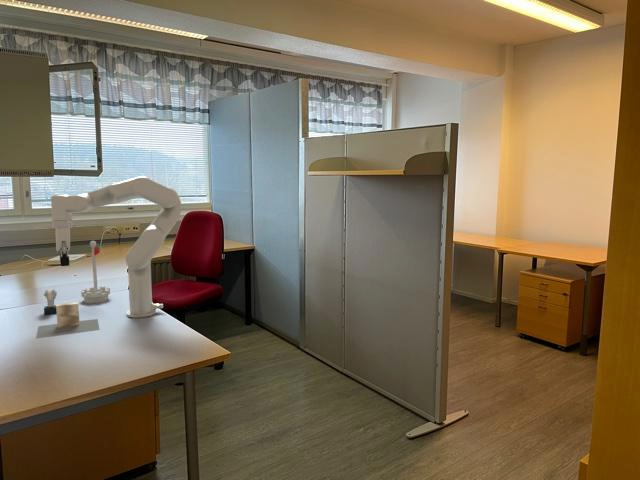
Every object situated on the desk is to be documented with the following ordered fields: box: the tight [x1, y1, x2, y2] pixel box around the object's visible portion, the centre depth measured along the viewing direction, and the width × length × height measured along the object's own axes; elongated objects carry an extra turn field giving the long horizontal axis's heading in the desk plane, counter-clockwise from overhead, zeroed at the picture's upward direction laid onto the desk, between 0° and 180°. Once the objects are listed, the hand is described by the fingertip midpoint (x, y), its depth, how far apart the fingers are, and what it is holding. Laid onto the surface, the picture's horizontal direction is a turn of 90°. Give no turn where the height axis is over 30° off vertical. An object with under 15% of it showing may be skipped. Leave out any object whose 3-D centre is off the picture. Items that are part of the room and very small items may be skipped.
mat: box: [35, 318, 100, 339], centre depth 190 cm, size 22×16×1 cm
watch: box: [43, 288, 57, 316], centre depth 211 cm, size 6×8×11 cm
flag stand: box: [80, 240, 111, 304], centre depth 232 cm, size 13×13×30 cm
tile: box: [55, 301, 80, 327], centre depth 193 cm, size 8×2×9 cm, turn 118°
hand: (64, 263), depth 199 cm, fingers open, 9 cm apart
